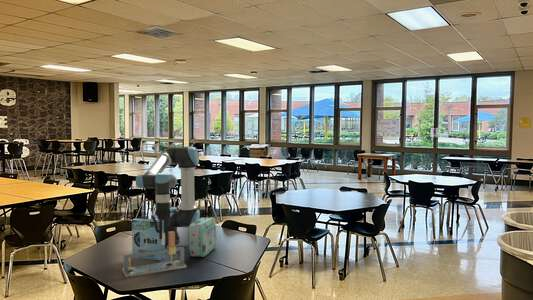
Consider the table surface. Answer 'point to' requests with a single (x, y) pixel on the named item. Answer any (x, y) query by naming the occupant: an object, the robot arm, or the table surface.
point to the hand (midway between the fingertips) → (163, 244)
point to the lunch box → (202, 237)
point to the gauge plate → (154, 268)
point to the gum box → (146, 238)
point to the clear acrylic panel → (126, 256)
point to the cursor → (171, 244)
